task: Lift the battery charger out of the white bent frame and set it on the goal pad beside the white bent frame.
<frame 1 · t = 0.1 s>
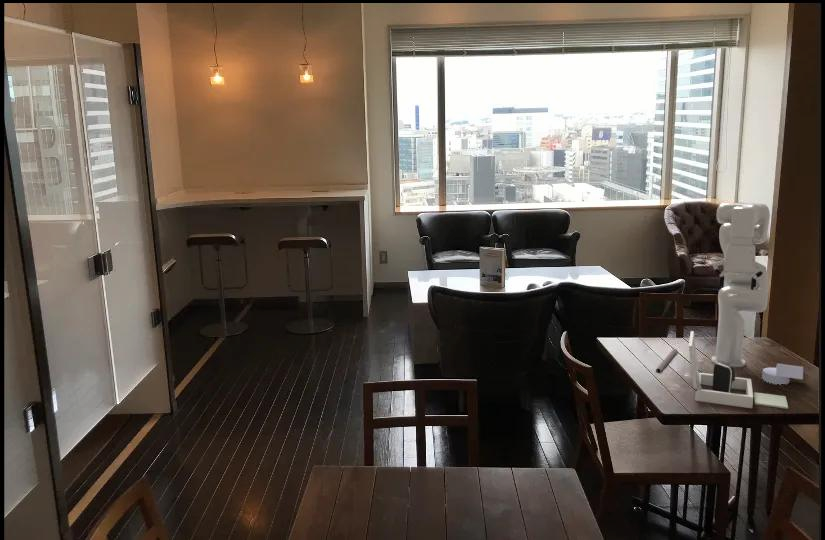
hand: (737, 288, 241), 37 cm above the table, tool pointing down, fingers open, 9 cm apart
metal rod: (666, 363, 272), on the table
wedge on round base: (781, 381, 250), on the table
goal pad: (770, 401, 233), on the table
white bent frame: (722, 394, 239), on the table
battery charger: (722, 395, 239), resting in white bent frame
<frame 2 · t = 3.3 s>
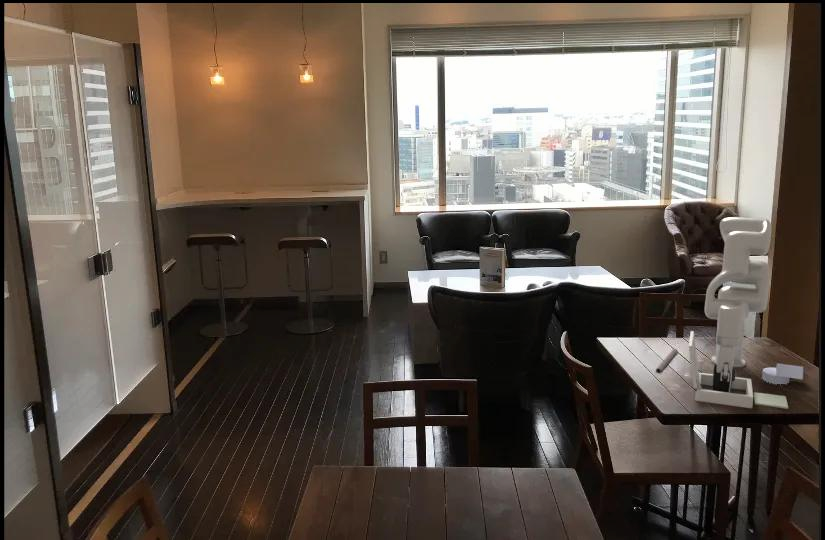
hand: (723, 387, 238), 3 cm above the table, tool pointing down, fingers closed on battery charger, 6 cm apart
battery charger: (722, 395, 239), resting in white bent frame, touching gripper
everything else where it was.
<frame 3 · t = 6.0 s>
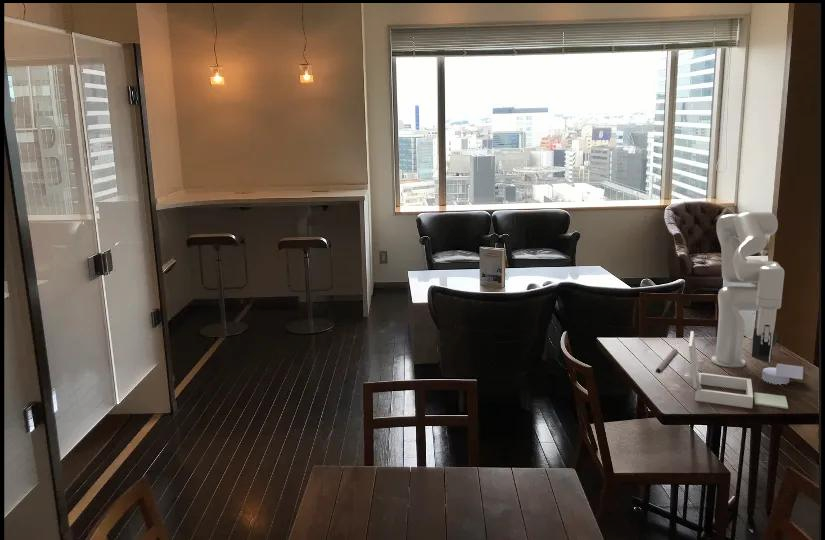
hand: (763, 351, 230), 18 cm above the table, tool pointing down, fingers closed on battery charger, 6 cm apart
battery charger: (762, 359, 231), point 15 cm above the table, touching gripper
everything else where it was.
when the fingers open (5 cm above the table, at t = 9.2 s): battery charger drops 2 cm, resting on goal pad.
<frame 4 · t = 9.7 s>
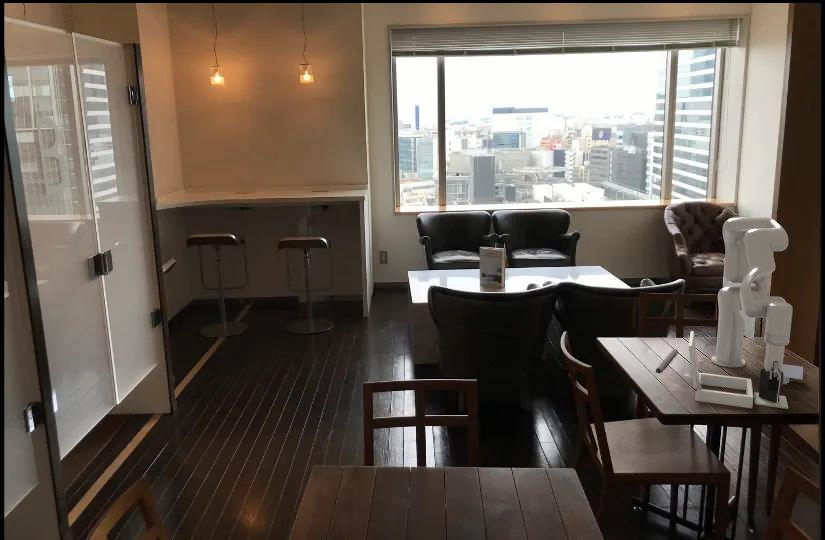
hand: (771, 385, 231), 6 cm above the table, tool pointing down, fingers open, 9 cm apart
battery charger: (769, 399, 233), resting on goal pad
everything else where it was.
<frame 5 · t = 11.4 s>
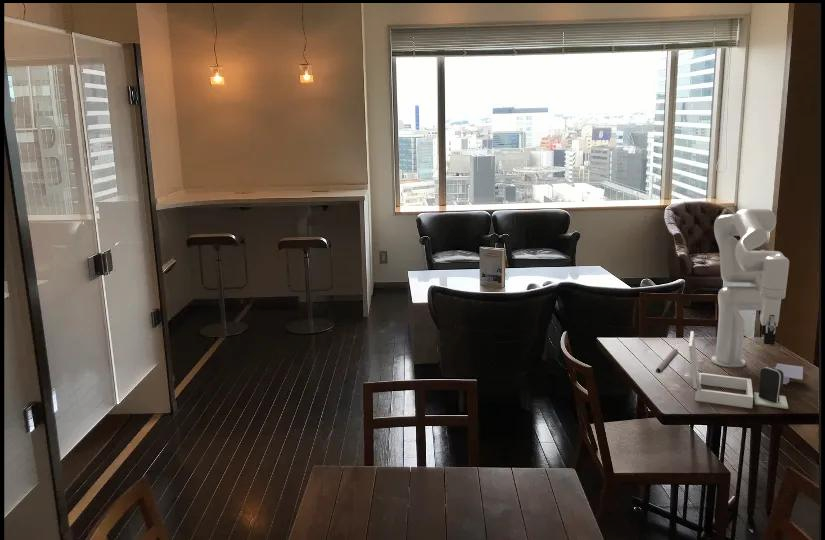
hand: (767, 339, 231), 21 cm above the table, tool pointing down, fingers open, 9 cm apart
nothing on the table moved.
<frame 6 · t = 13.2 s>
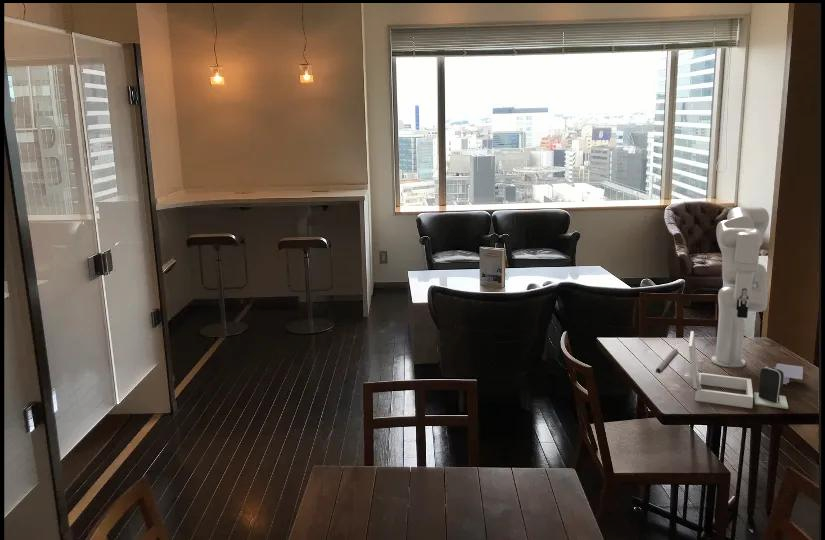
hand: (741, 313, 238), 28 cm above the table, tool pointing down, fingers open, 9 cm apart
nothing on the table moved.
at the end: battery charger inside the target area on the goal pad (0.1 cm from its centre), point 0.4 cm above the goal pad's base; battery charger tilted 0°; the gripper is holding nothing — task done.
